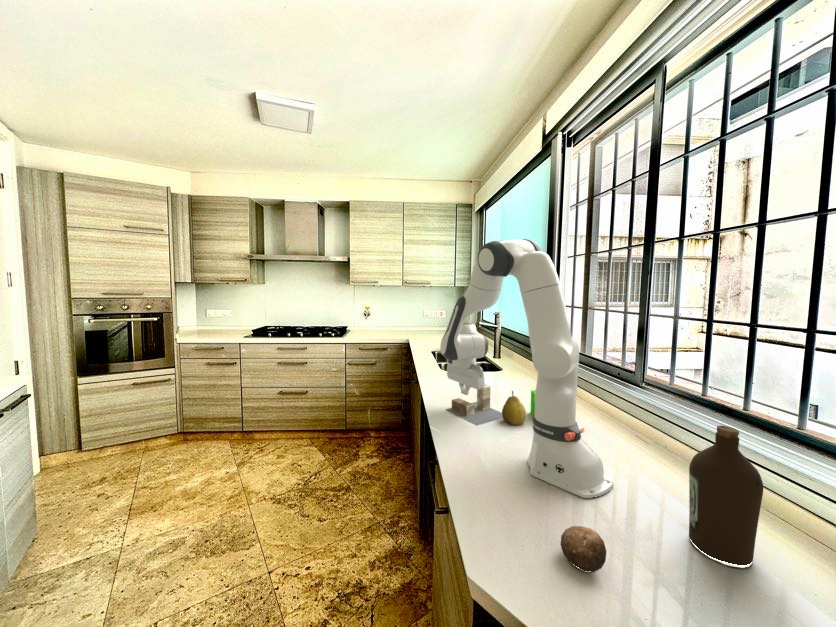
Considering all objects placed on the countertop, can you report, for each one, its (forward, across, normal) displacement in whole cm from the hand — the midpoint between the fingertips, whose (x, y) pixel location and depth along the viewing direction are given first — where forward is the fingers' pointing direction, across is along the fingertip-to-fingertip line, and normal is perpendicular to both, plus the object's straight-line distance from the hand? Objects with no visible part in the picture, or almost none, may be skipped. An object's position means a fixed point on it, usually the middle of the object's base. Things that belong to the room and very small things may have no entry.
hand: (464, 394), depth 137 cm
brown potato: (+8, -70, +30) cm, 76 cm away
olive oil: (+8, -83, +4) cm, 83 cm away
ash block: (+8, -1, -10) cm, 13 cm away
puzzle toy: (+8, -22, -25) cm, 34 cm away
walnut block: (+6, -4, 0) cm, 7 cm away
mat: (+8, -3, -4) cm, 10 cm away
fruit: (+8, -18, -10) cm, 22 cm away
